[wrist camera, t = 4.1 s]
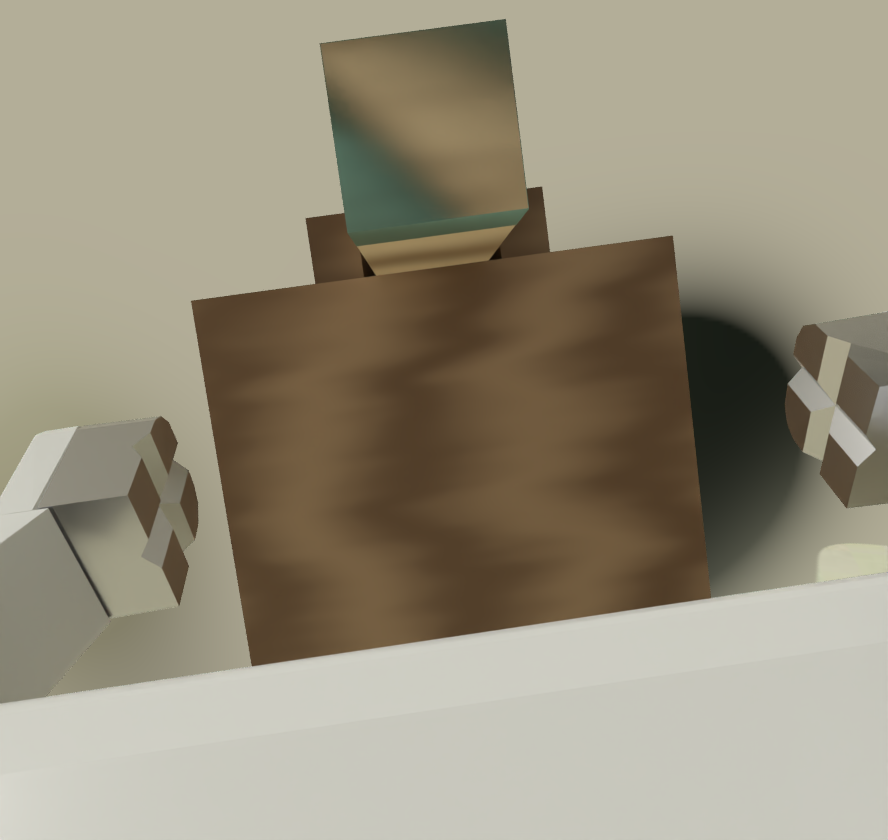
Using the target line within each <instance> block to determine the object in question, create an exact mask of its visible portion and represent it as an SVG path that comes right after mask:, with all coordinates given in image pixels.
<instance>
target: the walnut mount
mask: <svg viewBox="0 0 888 840" xmlns="http://www.w3.org/2000/svg"><path fill="white" fill-rule="evenodd" d="M527 197H528V205H529V209H528V210H527V212H526V213H525V214H524V216H523V217H522V218H521V220H520V221H519V222H518V224H517V225H515V226H514V228H513V229H512V230H511V232H510V233H509V234H508V236H507V237H506V238H505V240H504V241H503V242H502V244H501V245H500V246H499V248H498V249H497V250H496V251H495V253H494V254H493V255H492V257H491V258H490V259H489V261H482V262H474V263H467V264H460V265H452V266H445V267H437V268H430V269H423V270H415V271H408V272H401V273H393V274H386V275H378V276H376V275H375V273H374V272H373V270H372V269H371V267H370V265H369V264H368V262H367V261H366V259H365V258H364V256H363V255H362V253H361V252H360V250H359V249H358V247H357V246H356V245H355V244H354V242H353V241H352V239H351V238H350V236H349V235H348V233H347V226H346V219H345V213H342V214H334V215H327V216H320V217H312V218H306V224H307V230H308V237H309V244H310V251H311V257H312V264H313V270H314V277H315V284H312V285H305V286H297V287H290V288H282V289H276V290H268V291H261V292H253V293H245V294H238V295H231V296H224V297H216V298H209V299H201V300H194V301H191V303H192V309H193V315H194V321H195V327H196V333H197V339H198V345H199V351H200V357H201V363H202V369H203V375H204V381H205V387H206V393H207V399H208V406H209V411H210V417H211V424H212V430H213V436H214V442H215V448H216V454H217V459H218V465H219V471H220V477H221V484H222V490H223V496H224V502H225V507H226V514H227V520H228V525H229V532H230V537H231V544H232V549H233V556H234V561H235V568H236V573H237V580H238V586H239V592H240V598H241V604H242V610H243V616H244V622H245V628H246V634H247V640H248V646H249V651H250V658H251V664H252V666H258V665H265V664H272V663H279V662H285V661H292V660H299V659H306V658H312V657H319V656H326V655H333V654H339V653H346V652H353V651H360V650H366V649H373V648H380V647H387V646H393V645H400V644H407V643H414V642H420V641H427V640H434V639H441V638H448V637H454V636H461V635H468V634H475V633H481V632H488V631H495V630H501V629H508V628H515V627H521V626H528V625H535V624H541V623H548V622H555V621H561V620H568V619H575V618H581V617H588V616H595V615H601V614H608V613H615V612H621V611H628V610H635V609H641V608H648V607H655V606H661V605H668V604H675V603H681V602H688V601H695V600H702V599H709V598H711V594H710V584H709V575H708V565H707V556H706V547H705V537H704V527H703V518H702V508H701V499H700V489H699V481H698V470H697V461H696V452H695V442H694V433H693V423H692V414H691V405H690V396H689V386H688V376H687V366H686V357H685V348H684V339H683V328H682V319H681V310H680V300H679V290H678V282H677V271H676V262H675V252H674V243H673V236H666V237H659V238H652V239H644V240H637V241H630V242H622V243H616V244H607V245H600V246H592V247H585V248H578V249H571V250H563V251H556V252H550V249H549V241H548V232H547V224H546V217H545V208H544V199H543V192H542V187H535V188H528V189H527Z"/></svg>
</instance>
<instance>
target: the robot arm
mask: <svg viewBox="0 0 888 840" xmlns="http://www.w3.org/2000/svg"><path fill="white" fill-rule="evenodd" d="M793 355H794V356H795V358H796V359H797V361H798V362H799V364H800V365H801V366H802V368H801V370H800V371H799V372H798V373H797V374H796V375H795V377H794V378H793V379H792V380H791V381H790V382H789V383H788V386H787V393H786V400H785V411H786V417H787V424H788V427H789V430H790V432H791V434H792V437H793V439H794V440H795V442H796V443H797V445H798V446H799V447H800V449H801V450H802V451H803V452H804V453H807V454H809V455H811V456H813V457H815V458H817V459H820V460H822V461H823V462H822V466H821V471H820V475H821V476H822V477H823V479H824V480H825V481H826V483H827V484H828V485H829V486H830V488H831V489H832V490H833V492H834V493H835V494H836V495H837V496H838V498H839V499H840V500H841V502H842V503H843V504H844V506H845V507H846V508H854V507H862V506H870V505H879V504H887V503H888V311H887V312H882V313H877V314H871V315H865V316H859V317H853V318H847V319H842V320H835V321H830V322H823V323H818V324H812V325H805V326H803V327H802V329H801V331H800V333H799V335H798V336H797V339H796V344H795V349H794V354H793ZM177 444H178V442H177V440H176V438H175V436H174V433H173V431H172V429H171V426H170V424H169V422H168V421H166V420H165V419H164V418H163V417H161V416H160V417H152V418H143V419H135V420H127V421H119V422H111V423H102V424H94V425H86V426H83V427H79V426H76V427H69V428H63V429H56V430H50V431H44V432H42V433H40V434H37V435H36V436H35V437H34V438H33V440H32V442H31V444H30V445H29V447H28V449H27V451H26V452H25V454H24V456H23V458H22V459H21V461H20V463H19V465H18V467H17V468H16V470H15V472H14V474H13V475H12V477H11V479H10V481H9V483H8V484H7V486H6V488H5V490H4V491H3V493H2V495H1V497H0V840H888V572H885V573H878V574H871V575H864V576H858V577H851V578H844V579H837V580H831V581H824V582H817V583H811V584H804V585H797V586H790V587H784V588H776V589H770V590H763V591H756V592H749V593H742V594H736V595H729V596H722V597H716V598H709V599H702V600H695V601H688V602H681V603H675V604H668V605H661V606H655V607H648V608H641V609H635V610H628V611H621V612H615V613H608V614H601V615H595V616H588V617H581V618H575V619H568V620H561V621H555V622H548V623H541V624H535V625H528V626H521V627H515V628H508V629H501V630H495V631H488V632H481V633H475V634H468V635H461V636H454V637H448V638H441V639H434V640H427V641H420V642H414V643H407V644H400V645H393V646H387V647H380V648H373V649H366V650H360V651H353V652H346V653H339V654H333V655H326V656H319V657H312V658H306V659H299V660H292V661H285V662H279V663H272V664H265V665H258V666H252V667H245V668H239V669H231V670H224V671H218V672H211V673H204V674H197V675H191V676H184V677H177V678H170V679H164V680H157V681H150V682H143V683H137V684H130V685H123V686H116V687H110V688H103V689H96V690H89V691H83V692H76V693H69V694H63V695H56V696H49V697H46V696H47V695H48V694H49V693H50V691H51V690H52V689H53V688H54V687H55V686H56V684H57V683H58V682H59V681H60V680H61V679H62V678H63V676H64V675H65V674H66V673H67V672H68V671H69V669H70V668H71V667H72V666H73V665H74V664H75V662H76V661H77V660H78V659H79V658H80V657H81V656H82V654H83V653H84V652H85V651H86V650H87V649H88V647H89V646H90V645H91V644H92V643H93V642H94V641H95V639H96V638H97V637H98V636H99V635H100V634H101V632H102V631H103V630H104V629H105V628H106V627H107V626H108V624H109V623H110V618H115V617H121V616H127V615H132V614H138V613H144V612H149V611H155V610H161V609H166V608H172V607H178V606H179V605H180V600H181V596H182V593H183V588H184V584H185V580H186V576H187V571H188V567H189V565H188V563H187V560H186V558H185V556H184V553H183V551H184V550H185V549H186V548H187V547H188V546H189V545H190V544H191V543H193V542H194V541H195V537H196V532H197V528H198V501H197V496H196V492H195V487H194V484H193V481H192V478H191V476H190V473H189V470H187V469H186V468H184V467H183V466H181V465H180V464H178V463H177V462H176V461H174V460H173V458H174V454H175V451H176V447H177Z"/></svg>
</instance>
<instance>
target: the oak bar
mask: <svg viewBox="0 0 888 840" xmlns="http://www.w3.org/2000/svg"><path fill="white" fill-rule="evenodd" d="M320 47H321V55H322V61H323V68H324V75H325V82H326V88H327V95H328V102H329V109H330V116H331V123H332V130H333V137H334V143H335V151H336V158H337V164H338V171H339V178H340V185H341V192H342V199H343V205H344V212H345V219H346V226H347V233H348V235H349V236H350V238H351V239H352V241H353V242H354V244H355V245H356V246H357V247H358V249H359V250H360V252H361V253H362V255H363V256H364V258H365V259H366V261H367V262H368V264H369V265H370V267H371V269H372V270H373V272H374V273H375V275H376V276H378V275H386V274H393V273H401V272H408V271H415V270H423V269H430V268H437V267H445V266H452V265H460V264H467V263H474V262H482V261H489V259H490V258H491V257H492V255H493V254H494V253H495V251H496V250H497V249H498V248H499V246H500V245H501V244H502V242H503V241H504V240H505V238H506V237H507V236H508V234H509V233H510V232H511V230H512V229H513V228H514V226H515V225H517V224H518V222H519V221H520V220H521V218H522V217H523V216H524V214H525V213H526V212H527V210H528V209H529V205H528V197H527V189H526V181H525V173H524V165H523V156H522V148H521V140H520V132H519V124H518V115H517V107H516V100H515V91H514V83H513V75H512V67H511V59H510V50H509V42H508V34H507V26H506V19H503V20H495V21H487V22H480V23H472V24H464V25H457V26H449V27H441V28H434V29H426V30H419V31H411V32H404V33H397V34H389V35H381V36H373V37H365V38H358V39H350V40H342V41H335V42H327V43H321V44H320Z"/></svg>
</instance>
